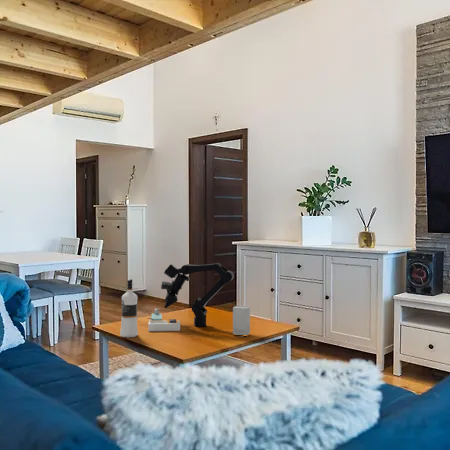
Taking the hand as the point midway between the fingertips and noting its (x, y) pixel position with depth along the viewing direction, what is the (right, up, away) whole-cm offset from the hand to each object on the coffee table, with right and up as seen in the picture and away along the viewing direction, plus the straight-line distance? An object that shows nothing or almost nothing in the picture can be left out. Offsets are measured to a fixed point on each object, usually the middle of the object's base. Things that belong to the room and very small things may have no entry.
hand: (165, 304), depth 278 cm
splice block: (+5, -11, -4) cm, 13 cm away
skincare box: (+45, -13, -24) cm, 52 cm away
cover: (-5, -7, -6) cm, 10 cm away
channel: (+1, -11, -15) cm, 18 cm away
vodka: (-15, -12, -30) cm, 36 cm away
